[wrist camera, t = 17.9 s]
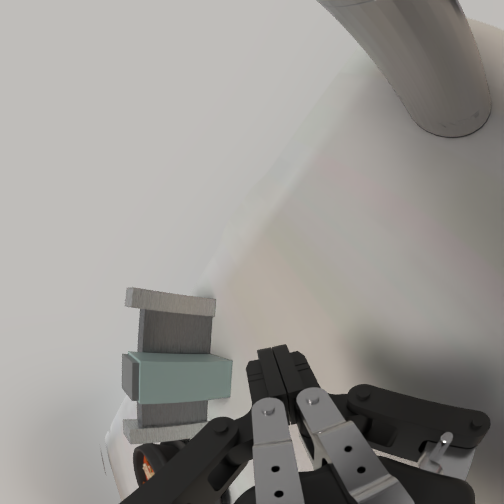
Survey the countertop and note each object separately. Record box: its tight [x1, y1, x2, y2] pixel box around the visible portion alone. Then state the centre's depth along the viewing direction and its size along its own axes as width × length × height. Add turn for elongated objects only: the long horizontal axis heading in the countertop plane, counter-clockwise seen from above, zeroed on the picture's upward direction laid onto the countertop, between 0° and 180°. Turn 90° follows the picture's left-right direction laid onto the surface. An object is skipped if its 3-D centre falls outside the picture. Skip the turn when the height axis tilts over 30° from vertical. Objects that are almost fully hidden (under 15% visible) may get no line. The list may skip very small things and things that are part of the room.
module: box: [122, 351, 232, 404], centre depth 30 cm, size 5×5×13 cm
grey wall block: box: [123, 287, 216, 444], centre depth 33 cm, size 21×6×12 cm, turn 174°
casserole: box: [133, 440, 222, 504], centre depth 31 cm, size 25×19×8 cm
